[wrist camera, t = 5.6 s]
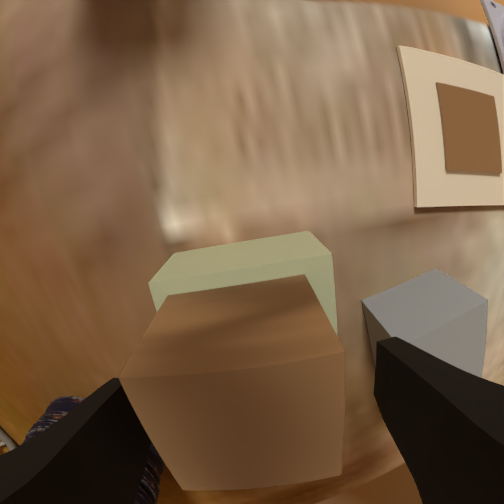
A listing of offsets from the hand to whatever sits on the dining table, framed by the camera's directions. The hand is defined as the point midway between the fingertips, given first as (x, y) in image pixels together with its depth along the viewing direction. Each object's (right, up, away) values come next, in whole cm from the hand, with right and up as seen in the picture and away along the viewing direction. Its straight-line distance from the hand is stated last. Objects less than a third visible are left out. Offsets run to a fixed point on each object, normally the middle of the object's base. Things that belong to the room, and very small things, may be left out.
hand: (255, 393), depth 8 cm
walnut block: (0, +1, +2) cm, 2 cm away
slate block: (+8, 0, +7) cm, 10 cm away
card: (+11, +10, +4) cm, 16 cm away
